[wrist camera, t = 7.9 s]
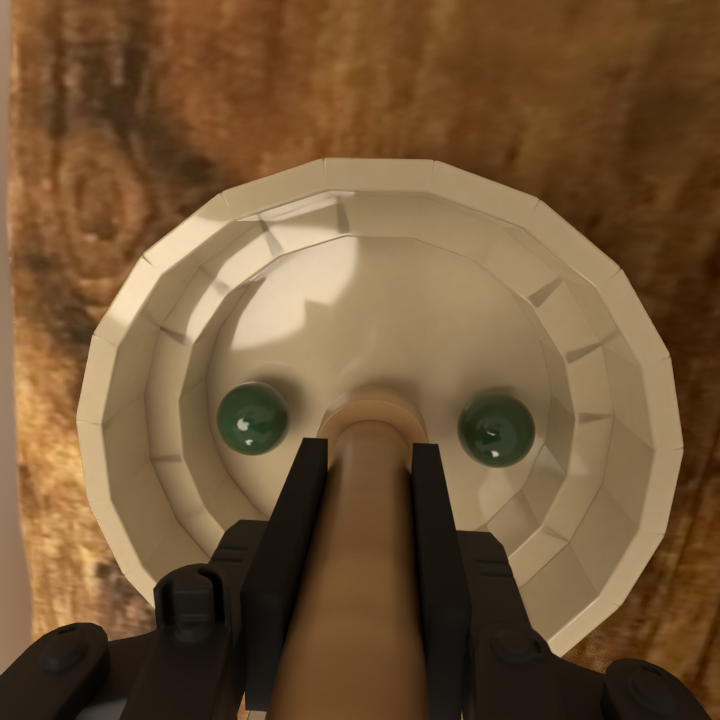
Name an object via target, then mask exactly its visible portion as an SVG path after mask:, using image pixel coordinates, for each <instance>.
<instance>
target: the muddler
mask: <svg viewBox="0 0 720 720" xmlns="http://www.w3.org/2000/svg"><path fill="white" fill-rule="evenodd" d="M316 438H326V439H328V474H327V478H326V482H325V485H324V489H323V493H322V497H321V501H320V505H319V509H318V513H317V517H316V521H315V524H314V528H313V532H312V536H311V540H310V544H309V548H308V552H307V556H306V560H305V563H304V567H303V571H302V575H301V579H300V583H299V587H298V591H297V595H296V599H295V602H294V606H293V610H292V614H291V618H290V622H289V626H288V630H287V634H286V638H285V642H284V645H283V649H282V653H281V657H280V661H279V665H278V669H277V673H276V677H275V681H274V684H273V688H272V692H271V696H270V700H269V704H268V708H267V712H266V716H265V720H430V709H429V696H428V684H427V671H426V659H425V652H424V639H423V626H422V613H421V600H420V587H419V574H418V561H417V548H416V535H415V522H414V509H413V496H412V483H411V467H412V449H413V443H429V441H428V435H427V429H426V424H425V421H424V418H423V416H422V414H421V412H420V410H419V409H418V407H417V406H416V405H415V404H414V403H413V402H412V401H411V400H410V399H409V398H408V397H407V396H405V395H404V394H402V393H401V392H399V391H397V390H394V389H392V388H389V387H385V386H378V385H366V386H360V387H356V388H353V389H351V390H348V391H346V392H345V393H343V394H341V395H340V396H339V397H337V398H336V399H335V400H334V401H333V402H332V403H331V404H330V406H329V407H328V408H327V410H326V412H325V414H324V416H323V419H322V421H321V424H320V427H319V430H318V433H317V435H316Z"/></svg>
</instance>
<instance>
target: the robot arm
mask: <svg viewBox="0 0 720 720" xmlns="http://www.w3.org/2000/svg"><path fill="white" fill-rule="evenodd" d="M327 474H328V439H326V438H305V437H303V440H302V442H301V444H300V447H299V449H298V452H297V454H296V456H295V459H294V461H293V464H292V466H291V469H290V471H289V473H288V476H287V478H286V481H285V483H284V485H283V488H282V490H281V493H280V495H279V498H278V500H277V502H276V505H275V507H274V510H273V512H272V515H271V517H270V519H269V521H262V520H244V519H240V520H239V521H237V522H236V523H235V524H234V525H232V526H231V527H230V528H229V529H227V530H226V531H225V533H224V535H223V536H222V538H221V540H220V542H219V544H218V547H217V548H216V549H215V551H214V553H213V555H212V557H211V561H209V562H208V564H204V563H198V564H191V565H186V566H183V567H180V568H178V569H175V570H173V571H171V572H170V573H168V574H167V575H165V576H164V577H163V578H161V579H160V580H159V582H158V583H157V584H156V586H155V587H154V588H153V594H154V603H155V613H156V623H157V629H156V630H155V631H152V632H150V633H147V634H143V635H140V636H135V637H130V638H125V639H120V640H115V641H109V642H108V638H107V634H106V633H105V631H104V630H103V628H102V627H101V626H98V625H96V624H93V623H73V624H69V625H66V626H62V627H59V628H57V629H55V630H53V631H51V632H49V633H47V634H45V635H43V636H42V637H41V638H39V639H38V640H37V641H36V642H34V643H33V644H32V645H31V646H29V647H28V648H27V649H26V651H24V653H23V654H22V655H21V656H19V657H18V659H16V661H15V662H14V663H12V665H11V666H10V667H9V668H8V669H7V670H6V671H5V672H4V673H3V674H2V675H1V676H0V720H237V713H238V710H239V707H240V704H241V701H242V697H243V694H244V691H245V707H246V710H250V711H263V712H267V708H268V704H269V700H270V696H271V692H272V688H273V684H274V681H275V677H276V673H277V669H278V665H279V661H280V657H281V653H282V649H283V645H284V642H285V638H286V634H287V630H288V626H289V622H290V618H291V614H292V610H293V606H294V602H295V599H296V595H297V591H298V587H299V583H300V579H301V575H302V571H303V567H304V563H305V560H306V556H307V552H308V548H309V544H310V540H311V536H312V532H313V528H314V524H315V521H316V517H317V513H318V509H319V505H320V501H321V497H322V493H323V489H324V485H325V482H326V478H327ZM411 483H412V496H413V509H414V522H415V535H416V548H417V561H418V574H419V587H420V600H421V613H422V626H423V639H424V652H425V659H426V671H427V684H428V696H429V709H430V720H461V712H462V713H463V720H712V719H711V718H710V717H709V715H708V714H707V713H706V712H705V710H704V709H703V708H702V706H701V705H700V704H699V702H698V701H697V700H696V698H695V697H694V696H693V694H692V693H691V692H690V691H689V690H688V689H687V688H686V687H685V686H684V685H683V684H682V683H681V682H680V681H679V679H678V678H676V677H675V676H673V675H672V674H670V673H669V672H667V671H666V670H664V669H663V668H661V667H659V666H656V665H654V664H651V663H649V662H646V661H644V660H638V659H631V658H625V659H620V660H616V661H614V662H613V663H612V664H611V665H610V666H608V667H607V668H606V674H602V673H599V672H596V671H593V670H590V669H587V668H584V667H581V666H578V665H575V664H573V663H570V662H568V661H566V660H564V659H562V658H560V657H559V656H557V655H555V654H554V653H552V651H551V649H550V647H549V645H548V643H547V642H546V640H545V639H544V638H543V637H542V636H541V635H540V634H539V633H538V632H537V631H535V630H534V629H532V627H531V624H530V621H529V618H528V615H527V612H526V609H525V606H524V603H523V601H522V598H521V595H520V592H519V589H518V586H517V583H516V580H515V578H514V577H513V572H512V569H511V566H510V565H509V560H508V557H507V554H506V552H505V549H504V546H503V545H502V544H501V543H500V542H499V541H498V540H497V539H496V538H495V536H494V535H493V534H492V533H491V532H480V531H463V530H456V527H455V522H454V517H453V512H452V508H451V503H450V498H449V493H448V489H447V484H446V479H445V474H444V469H443V465H442V460H441V455H440V450H439V446H438V444H430V443H413V449H412V467H411Z"/></svg>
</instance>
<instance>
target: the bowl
mask: <svg viewBox="0 0 720 720" xmlns="http://www.w3.org/2000/svg"><path fill="white" fill-rule="evenodd" d="M669 355H670V353H669V351H668V349H667V348H666V346H665V344H664V342H663V340H662V339H661V337H660V335H659V333H658V331H657V330H656V328H655V326H654V324H653V323H652V321H651V319H650V317H649V315H648V314H647V312H646V310H645V308H644V306H643V305H642V303H641V301H640V299H639V298H638V296H637V294H636V292H635V290H634V289H633V287H632V285H631V283H630V281H629V280H628V278H627V276H626V274H625V272H624V271H623V270H622V269H620V267H619V265H618V264H617V263H616V262H614V261H613V260H612V259H611V258H610V257H609V256H607V255H606V254H605V253H604V252H603V251H601V250H600V249H599V248H598V247H597V246H596V245H594V244H593V243H592V242H591V241H590V240H588V239H587V238H586V237H585V236H584V235H583V234H581V233H580V232H579V231H578V230H577V229H575V228H574V227H573V226H572V225H571V224H570V223H568V222H567V221H566V220H565V219H564V218H562V217H561V216H560V215H559V214H558V213H557V212H555V211H554V210H553V209H552V208H551V207H549V206H548V205H547V204H546V203H545V202H544V201H542V200H539V199H538V198H537V197H535V196H533V195H530V194H527V193H525V192H522V191H519V190H517V189H514V188H511V187H508V186H506V185H503V184H500V183H498V182H495V181H492V180H490V179H487V178H484V177H482V176H479V175H476V174H473V173H471V172H468V171H465V170H463V169H460V168H457V167H455V166H452V165H449V164H447V163H444V162H441V161H439V160H436V161H435V162H434V160H432V159H389V158H332V157H327V158H324V160H323V159H321V158H320V159H317V160H314V161H311V162H308V163H305V164H302V165H299V166H296V167H293V168H290V169H287V170H284V171H281V172H278V173H275V174H272V175H269V176H266V177H263V178H260V179H257V180H254V181H251V182H248V183H245V184H242V185H239V186H236V187H233V188H230V189H227V190H224V191H223V192H222V193H218V194H217V195H216V196H214V197H213V198H212V199H211V200H209V201H208V202H207V203H206V204H204V205H203V206H202V207H201V208H199V209H198V210H197V211H195V212H194V213H193V214H192V215H190V216H189V217H188V218H187V219H185V220H184V221H183V222H182V223H180V224H179V225H178V226H176V227H175V228H174V229H173V230H171V231H170V232H169V233H168V234H166V235H165V236H164V237H163V238H161V239H160V240H159V241H157V242H156V243H155V244H154V245H152V246H151V247H150V248H149V249H147V250H146V251H145V252H144V253H143V255H142V256H140V258H139V259H138V261H137V263H136V264H135V266H134V268H133V269H132V271H131V273H130V274H129V276H128V277H127V279H126V281H125V282H124V284H123V286H122V287H121V289H120V291H119V292H118V294H117V295H116V297H115V299H114V300H113V302H112V304H111V305H110V307H109V309H108V310H107V312H106V313H105V315H104V317H103V318H102V320H101V322H100V323H99V325H98V327H97V328H96V330H95V332H94V334H93V335H92V340H91V345H90V350H89V355H88V360H87V365H86V370H85V375H84V380H83V385H82V390H81V395H80V400H79V405H78V410H77V415H76V419H77V421H76V424H77V431H78V438H79V445H80V452H81V459H82V466H83V473H84V480H85V487H86V494H87V500H88V501H89V506H90V508H91V510H92V512H93V514H94V516H95V518H96V520H97V522H98V524H99V526H100V528H101V530H102V532H103V534H104V536H105V538H106V540H107V543H108V545H109V547H110V549H111V551H112V553H113V555H114V557H115V559H116V561H117V563H118V565H119V567H120V569H121V571H122V573H123V574H125V577H126V578H127V579H128V580H129V582H130V583H131V584H132V585H133V586H134V587H135V588H136V589H137V590H138V591H139V592H140V594H141V595H142V596H143V597H144V598H145V599H146V600H147V601H148V602H149V603H150V604H151V606H152V607H153V608H154V609H155V603H154V594H153V588H154V587H155V586H156V584H157V583H158V582H159V580H160V579H161V578H163V577H164V576H165V575H167V574H168V573H170V572H171V571H173V570H175V569H178V568H180V567H183V566H186V565H191V564H198V563H204V564H208V562H209V561H211V557H212V555H213V553H214V551H215V549H216V548H217V547H218V544H219V542H220V540H221V538H222V536H223V535H224V533H225V531H226V530H227V529H229V528H230V527H231V526H232V525H234V524H235V523H236V522H237V521H239V520H240V519H244V520H262V521H269V519H270V517H271V515H272V512H273V510H274V507H275V505H276V502H277V500H278V498H279V495H280V493H281V490H282V488H283V485H284V483H285V481H286V478H287V476H288V473H289V471H290V469H291V466H292V464H293V461H294V459H295V456H296V454H297V452H298V449H299V447H300V444H301V442H302V440H303V437H305V438H316V435H317V433H318V430H319V427H320V424H321V421H322V419H323V416H324V414H325V412H326V410H327V408H328V407H329V406H330V404H331V403H332V402H333V401H334V400H335V399H336V398H337V397H339V396H340V395H341V394H343V393H345V392H346V391H348V390H351V389H353V388H356V387H360V386H366V385H378V386H385V387H389V388H392V389H394V390H397V391H399V392H401V393H402V394H404V395H405V396H407V397H408V398H409V399H410V400H411V401H412V402H413V403H414V404H415V405H416V406H417V407H418V409H419V410H420V412H421V414H422V416H423V418H424V421H425V424H426V429H427V435H428V441H429V443H430V444H438V446H439V450H440V455H441V460H442V465H443V469H444V474H445V479H446V484H447V489H448V493H449V498H450V503H451V508H452V512H453V517H454V522H455V527H456V530H463V531H480V532H491V533H492V534H493V535H494V536H495V538H496V539H497V540H498V541H499V542H500V543H501V544H502V545H503V546H504V549H505V552H506V554H507V557H508V560H509V565H510V566H511V569H512V572H513V577H514V578H515V580H516V583H517V586H518V589H519V592H520V595H521V598H522V601H523V603H524V606H525V609H526V612H527V615H528V618H529V621H530V624H531V627H532V629H534V630H535V631H537V632H538V633H539V634H540V635H541V636H542V637H543V638H544V639H545V640H546V642H547V643H548V645H549V647H550V649H551V651H552V653H554V654H555V655H557V656H559V657H560V658H561V657H562V656H563V655H564V654H566V653H567V652H568V651H569V650H570V649H571V648H573V647H574V646H575V645H576V644H577V643H578V642H580V641H581V640H582V639H583V638H584V637H585V636H587V635H588V634H589V633H590V632H591V631H592V630H594V629H595V628H596V627H597V626H598V625H600V624H601V623H602V622H603V621H604V620H605V619H607V618H608V617H609V616H610V615H611V614H612V613H614V612H615V611H616V610H617V609H618V608H619V606H621V605H622V604H623V602H624V600H625V599H626V597H627V595H628V594H629V592H630V591H631V589H632V587H633V586H634V584H635V583H636V581H637V579H638V578H639V576H640V575H641V573H642V571H643V570H644V568H645V566H646V565H647V563H648V562H649V560H650V558H651V557H652V555H653V554H654V552H655V550H656V549H657V547H658V546H659V544H660V542H661V541H662V539H663V537H664V534H665V533H666V529H667V524H668V519H669V515H670V510H671V506H672V501H673V497H674V492H675V488H676V483H677V479H678V474H679V470H680V465H681V461H682V456H683V451H684V450H683V446H684V445H683V438H682V431H681V424H680V417H679V410H678V403H677V396H676V389H675V382H674V376H673V369H672V362H671V357H670V356H669ZM246 382H264V383H267V384H270V385H272V386H274V387H275V388H277V389H278V390H279V391H281V392H282V393H283V395H284V396H285V397H286V399H287V400H288V402H289V405H290V408H291V412H292V424H291V428H290V431H289V434H288V436H287V437H286V439H285V440H284V442H283V443H282V444H281V445H280V446H279V447H277V448H276V449H275V450H273V451H271V452H269V453H267V454H264V455H260V456H246V455H242V454H239V453H237V452H235V451H233V450H232V449H230V448H229V447H228V446H227V445H226V444H225V443H224V441H223V440H222V439H221V437H220V435H219V432H218V429H217V424H216V415H217V410H218V407H219V405H220V402H221V401H222V399H223V398H224V396H225V395H226V394H227V393H228V392H229V391H230V390H231V389H233V388H234V387H236V386H238V385H240V384H243V383H246ZM486 392H503V393H507V394H510V395H512V396H514V397H516V398H518V399H519V400H520V401H522V402H523V403H524V404H525V405H526V407H527V408H528V409H529V411H530V412H531V414H532V416H533V419H534V422H535V428H536V435H535V441H534V444H533V446H532V448H531V450H530V452H529V453H528V455H527V456H526V457H525V458H524V459H523V460H521V461H520V462H518V463H517V464H515V465H513V466H510V467H506V468H489V467H485V466H483V465H480V464H478V463H477V462H475V461H474V460H472V459H471V458H470V457H469V456H468V455H467V454H466V453H465V452H464V450H463V449H462V447H461V445H460V442H459V440H458V435H457V422H458V418H459V415H460V413H461V411H462V409H463V407H464V406H465V405H466V404H467V403H468V402H469V401H470V400H471V399H473V398H474V397H476V396H478V395H480V394H482V393H486Z"/></svg>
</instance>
